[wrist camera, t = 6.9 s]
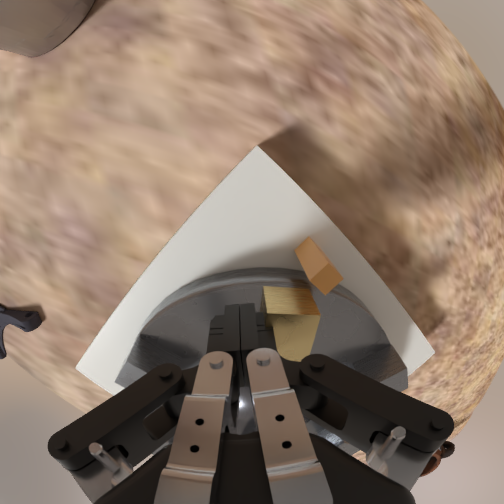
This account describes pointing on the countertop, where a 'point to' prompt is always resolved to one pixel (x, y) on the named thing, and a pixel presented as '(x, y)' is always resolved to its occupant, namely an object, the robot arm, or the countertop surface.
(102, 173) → the countertop surface
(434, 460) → the pottery mug
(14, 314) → the bracket
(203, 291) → the shallow round grey dish
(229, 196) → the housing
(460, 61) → the countertop surface
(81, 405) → the countertop surface
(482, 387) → the countertop surface
